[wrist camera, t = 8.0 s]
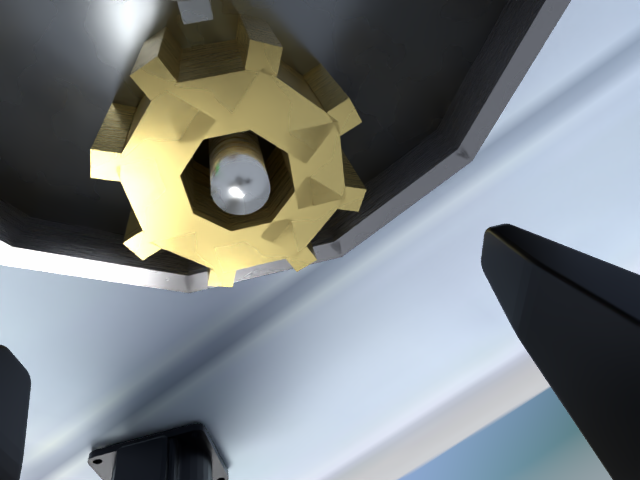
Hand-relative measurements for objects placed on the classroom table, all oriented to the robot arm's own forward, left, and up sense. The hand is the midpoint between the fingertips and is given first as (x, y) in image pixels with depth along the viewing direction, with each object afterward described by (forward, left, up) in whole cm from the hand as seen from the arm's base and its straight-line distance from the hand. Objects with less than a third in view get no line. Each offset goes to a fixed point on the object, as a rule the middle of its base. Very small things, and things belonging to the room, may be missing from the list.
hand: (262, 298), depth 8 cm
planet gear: (0, 0, -9) cm, 9 cm away
